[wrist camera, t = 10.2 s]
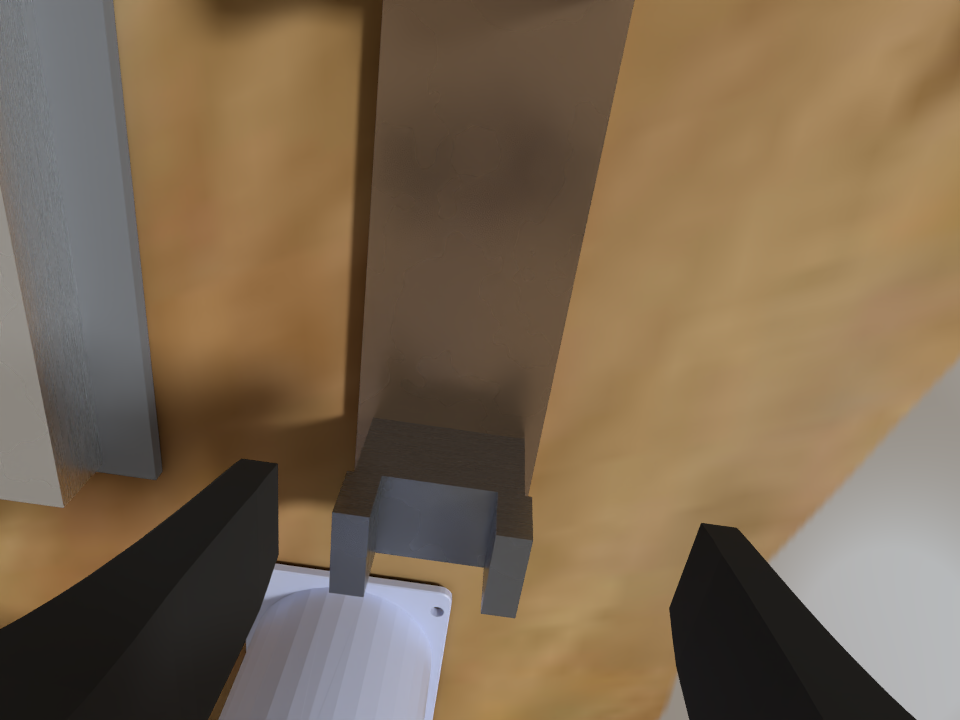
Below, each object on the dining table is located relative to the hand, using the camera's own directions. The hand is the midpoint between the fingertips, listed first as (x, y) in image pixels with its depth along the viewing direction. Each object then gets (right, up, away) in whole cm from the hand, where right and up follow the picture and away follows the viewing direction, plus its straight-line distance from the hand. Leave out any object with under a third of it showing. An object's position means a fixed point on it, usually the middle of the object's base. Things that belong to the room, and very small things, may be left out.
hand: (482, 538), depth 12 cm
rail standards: (0, +7, +8) cm, 11 cm away
